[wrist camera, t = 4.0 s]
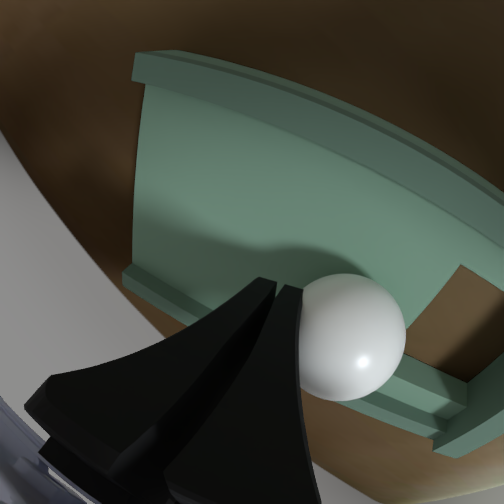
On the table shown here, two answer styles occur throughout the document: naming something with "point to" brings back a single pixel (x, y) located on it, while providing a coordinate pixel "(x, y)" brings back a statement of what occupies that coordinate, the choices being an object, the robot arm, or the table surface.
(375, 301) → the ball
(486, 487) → the table surface
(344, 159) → the green tray
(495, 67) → the table surface
